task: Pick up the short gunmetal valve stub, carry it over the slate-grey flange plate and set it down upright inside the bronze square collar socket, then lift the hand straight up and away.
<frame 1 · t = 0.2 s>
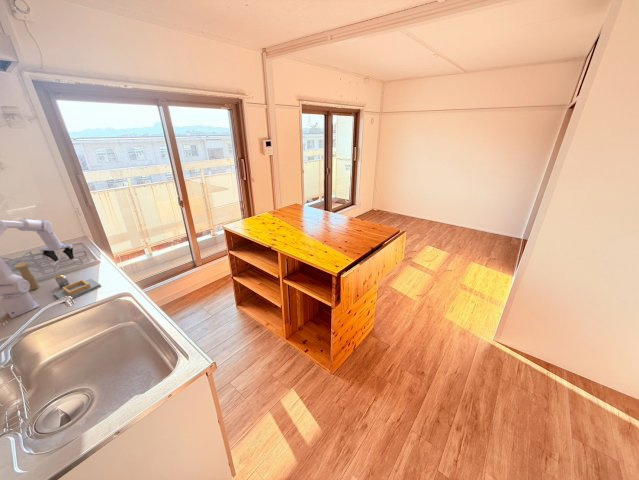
hand: (64, 259, 145), 10 cm above the worktop, tool pointing down, fingers open, 7 cm apart
handle: (35, 288, 137), on the worktop
valve stub: (65, 286, 139), on the worktop
fitting base: (78, 290, 135), on the worktop
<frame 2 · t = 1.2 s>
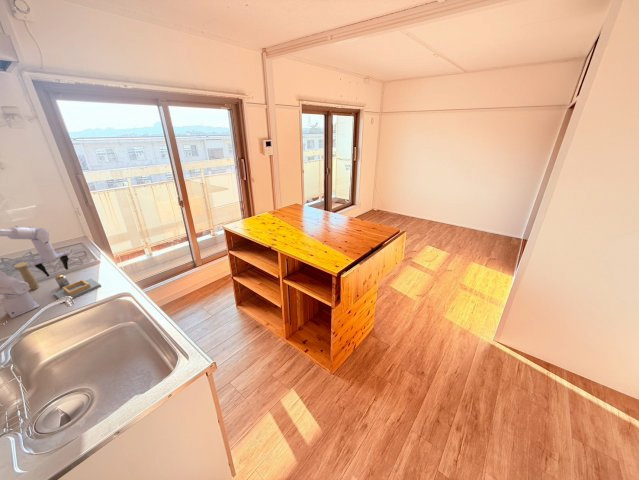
hand: (57, 272, 135), 9 cm above the worktop, tool pointing down, fingers open, 7 cm apart
nothing on the worktop moved.
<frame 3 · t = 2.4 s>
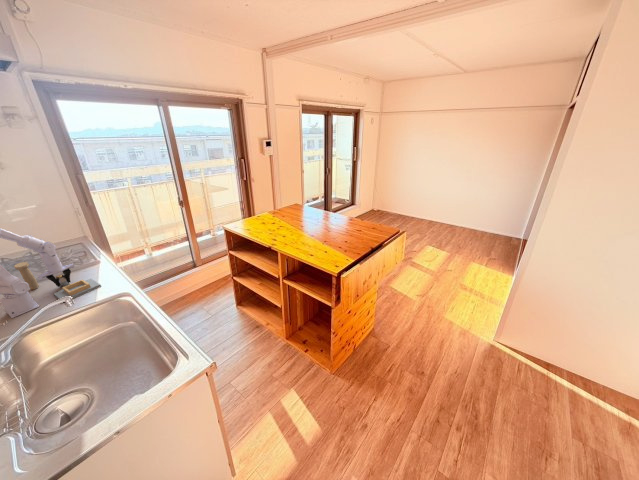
hand: (63, 284, 138), 1 cm above the worktop, tool pointing down, fingers closed on valve stub, 4 cm apart
valve stub: (64, 286, 139), on the worktop, touching gripper
everything else where it was.
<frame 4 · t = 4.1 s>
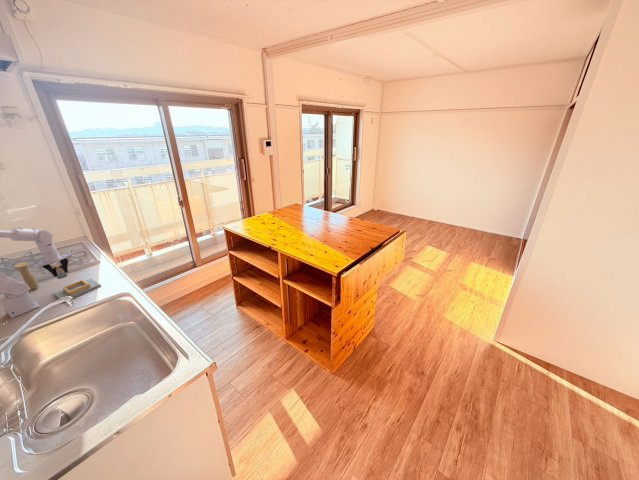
hand: (61, 274, 134), 8 cm above the worktop, tool pointing down, fingers closed on valve stub, 4 cm apart
valve stub: (62, 276, 135), point 7 cm above the worktop, touching gripper
everything else where it was.
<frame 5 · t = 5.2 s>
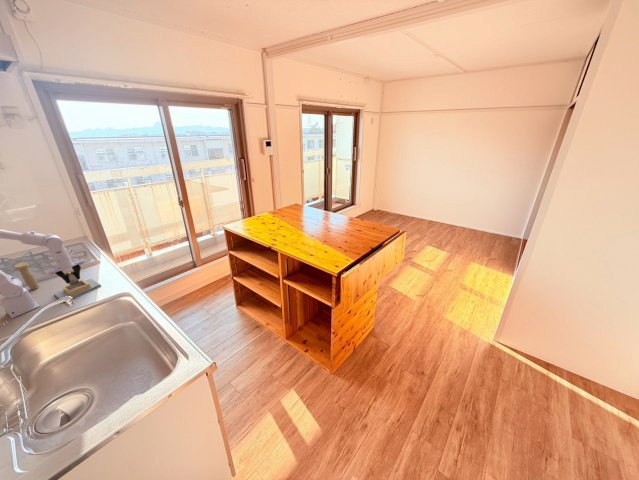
hand: (73, 280, 132), 6 cm above the worktop, tool pointing down, fingers closed on valve stub, 4 cm apart
valve stub: (74, 283, 133), point 5 cm above the worktop, touching gripper
everything else where it was.
when the fingers open (4 cm above the worktop, at t = 6.0 s): valve stub drops 1 cm, resting on fitting base.
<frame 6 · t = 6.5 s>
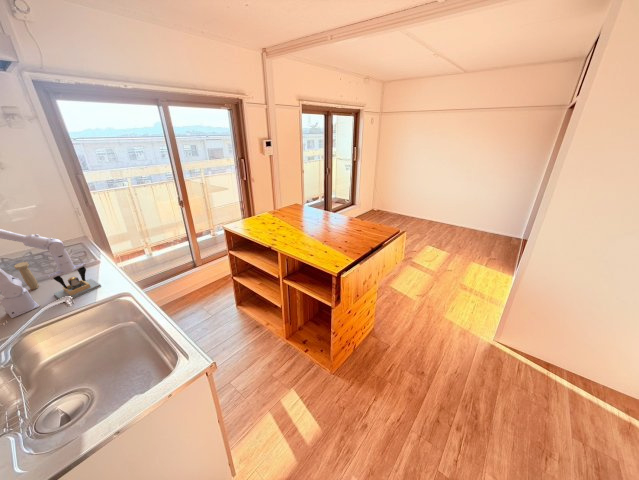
hand: (75, 284, 133), 4 cm above the worktop, tool pointing down, fingers open, 7 cm apart
valve stub: (77, 288, 134), point 1 cm above the worktop, touching fitting base
everything else where it was.
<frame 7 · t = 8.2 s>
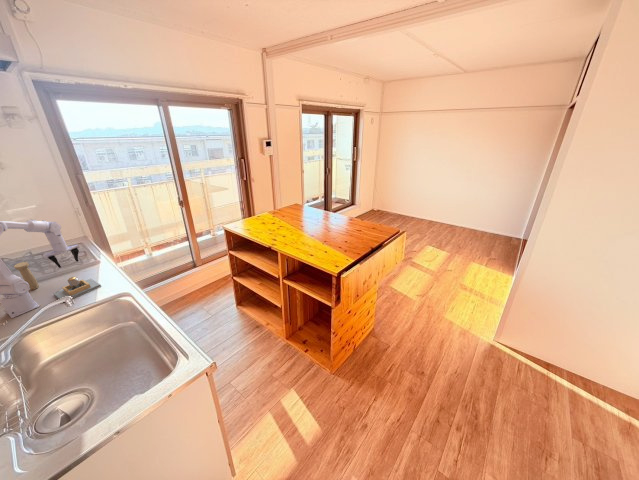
hand: (68, 264, 142), 10 cm above the worktop, tool pointing down, fingers open, 7 cm apart
nothing on the worktop moved.
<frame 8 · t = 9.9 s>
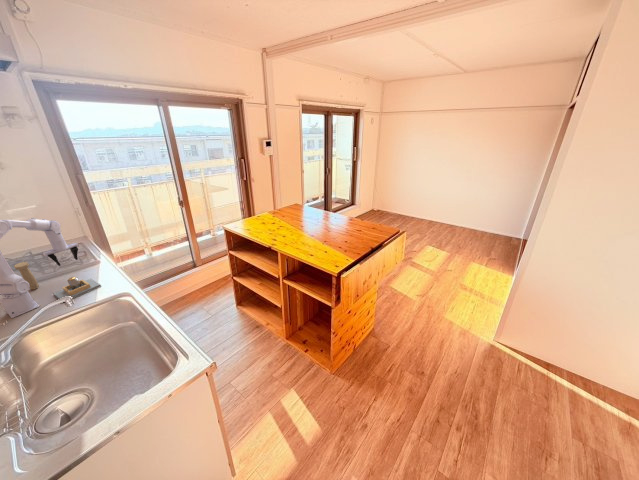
hand: (68, 262, 144), 9 cm above the worktop, tool pointing down, fingers open, 7 cm apart
nothing on the worktop moved.
at the end: valve stub 0.2 cm off-centre on the fitting base, point 1.2 cm above the fitting base's base; valve stub tilted 1°; the gripper is holding nothing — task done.
